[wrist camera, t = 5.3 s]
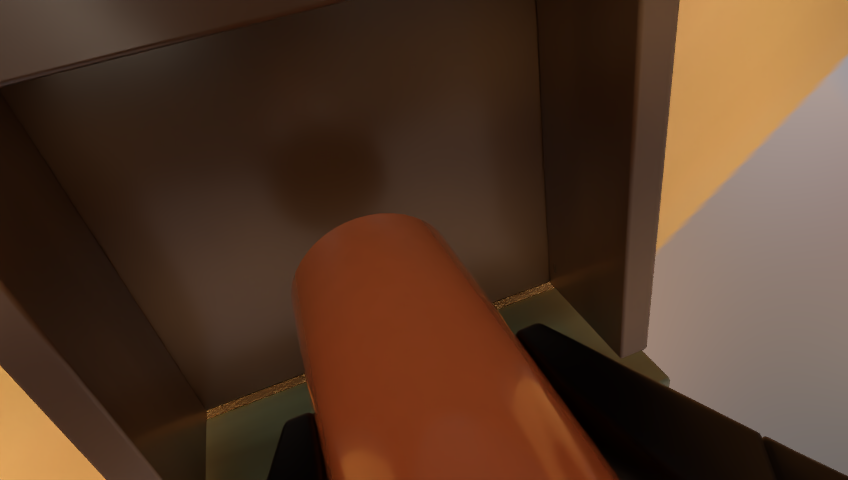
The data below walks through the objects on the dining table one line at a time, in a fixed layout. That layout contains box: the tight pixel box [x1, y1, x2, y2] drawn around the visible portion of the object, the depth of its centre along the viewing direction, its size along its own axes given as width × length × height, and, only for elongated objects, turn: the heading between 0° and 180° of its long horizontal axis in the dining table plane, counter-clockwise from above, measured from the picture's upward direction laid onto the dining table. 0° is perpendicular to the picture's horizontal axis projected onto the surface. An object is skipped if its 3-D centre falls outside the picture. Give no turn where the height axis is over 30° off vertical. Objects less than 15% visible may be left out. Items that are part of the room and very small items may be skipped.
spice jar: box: [291, 213, 621, 480], centre depth 7 cm, size 3×3×8 cm
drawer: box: [0, 0, 679, 480], centre depth 13 cm, size 18×13×5 cm
